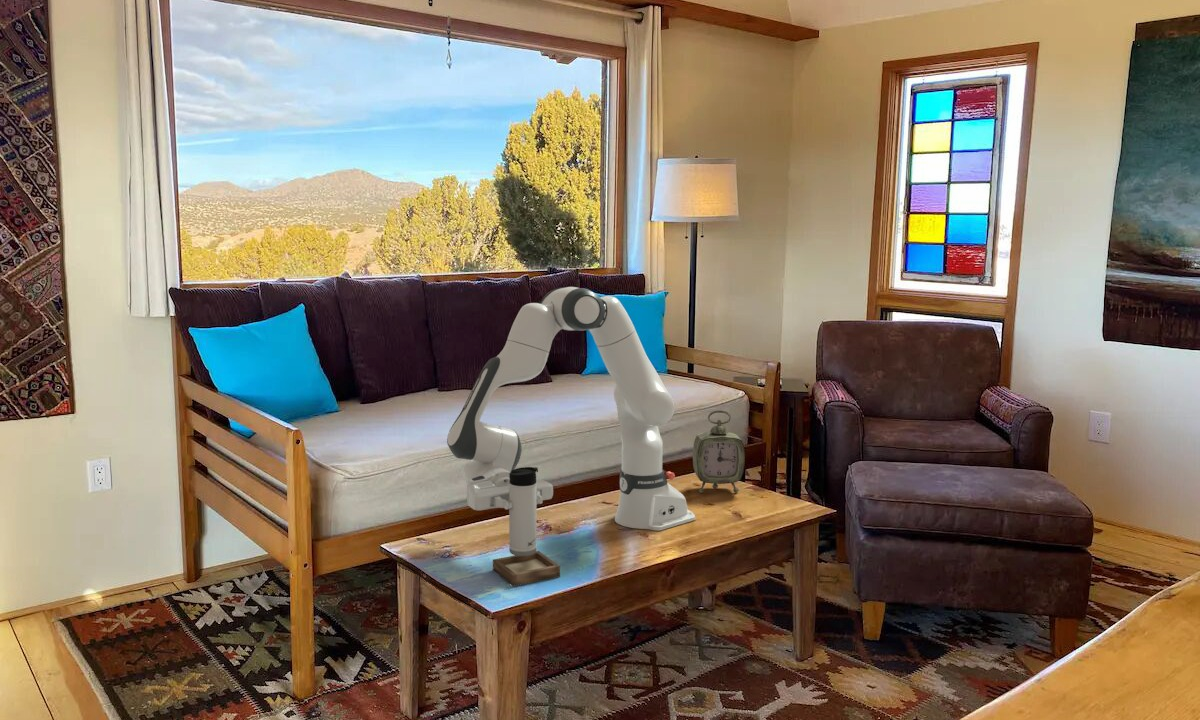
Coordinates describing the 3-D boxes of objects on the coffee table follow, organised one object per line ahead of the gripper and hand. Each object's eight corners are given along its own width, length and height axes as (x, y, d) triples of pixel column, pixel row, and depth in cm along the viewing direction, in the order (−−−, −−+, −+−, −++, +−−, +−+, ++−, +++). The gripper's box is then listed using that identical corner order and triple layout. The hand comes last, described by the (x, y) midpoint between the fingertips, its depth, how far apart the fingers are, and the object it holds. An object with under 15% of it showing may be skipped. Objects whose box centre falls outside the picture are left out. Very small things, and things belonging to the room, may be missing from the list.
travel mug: (537, 556, 213) (537, 472, 210) (508, 556, 213) (508, 472, 210) (538, 546, 220) (538, 464, 216) (510, 546, 219) (509, 464, 216)
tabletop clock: (695, 495, 278) (698, 413, 275) (690, 486, 287) (692, 407, 283) (743, 494, 280) (746, 413, 276) (736, 486, 288) (739, 407, 285)
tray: (538, 561, 224) (538, 550, 223) (560, 576, 214) (560, 566, 214) (492, 570, 218) (492, 559, 217) (512, 586, 208) (512, 575, 208)
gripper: (538, 494, 231) (564, 509, 219) (461, 506, 221) (484, 523, 209) (538, 469, 230) (564, 484, 218) (461, 480, 220) (483, 496, 208)
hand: (524, 503), depth 214 cm, fingers closed on travel mug, 6 cm apart
